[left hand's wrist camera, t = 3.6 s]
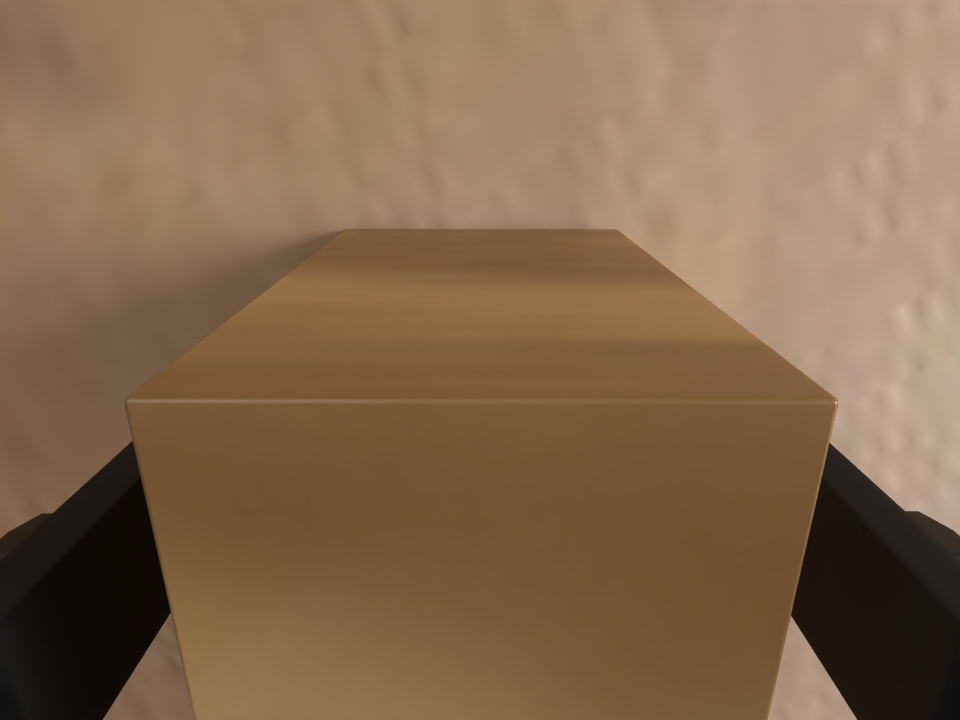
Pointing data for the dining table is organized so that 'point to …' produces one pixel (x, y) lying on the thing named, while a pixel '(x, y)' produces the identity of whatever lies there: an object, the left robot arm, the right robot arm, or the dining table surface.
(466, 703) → the box
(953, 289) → the dining table surface
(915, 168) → the dining table surface
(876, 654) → the left robot arm
